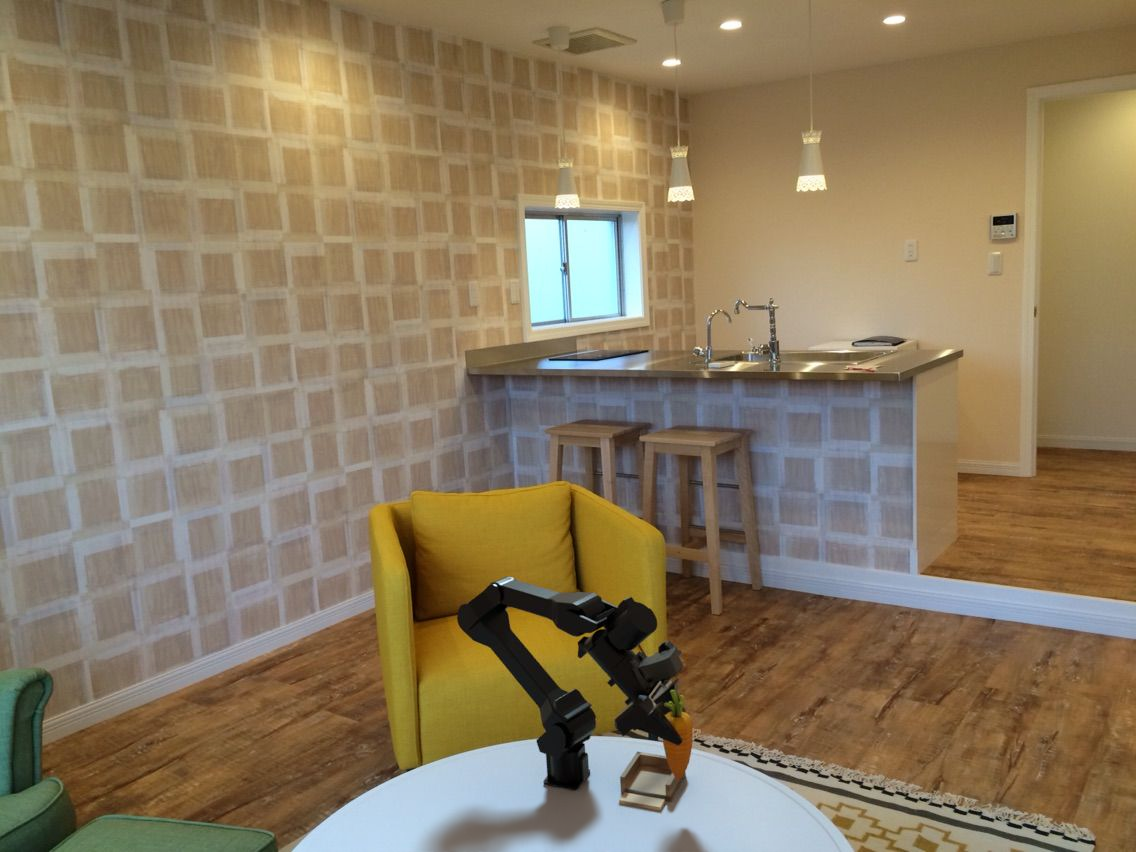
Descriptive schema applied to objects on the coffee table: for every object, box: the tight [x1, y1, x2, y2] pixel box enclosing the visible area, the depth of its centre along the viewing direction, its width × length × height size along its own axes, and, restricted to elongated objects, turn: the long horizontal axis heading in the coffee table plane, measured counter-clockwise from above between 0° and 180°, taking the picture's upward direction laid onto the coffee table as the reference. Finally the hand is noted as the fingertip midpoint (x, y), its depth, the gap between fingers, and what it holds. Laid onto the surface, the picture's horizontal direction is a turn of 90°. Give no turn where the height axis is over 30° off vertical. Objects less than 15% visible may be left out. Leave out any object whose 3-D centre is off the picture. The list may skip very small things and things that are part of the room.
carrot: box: [662, 690, 694, 780], centre depth 150 cm, size 5×5×15 cm
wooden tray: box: [618, 751, 687, 812], centre depth 158 cm, size 9×12×3 cm
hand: (685, 735), depth 149 cm, fingers closed on carrot, 5 cm apart
